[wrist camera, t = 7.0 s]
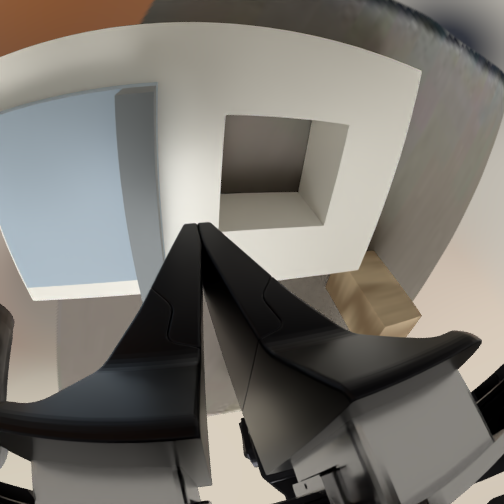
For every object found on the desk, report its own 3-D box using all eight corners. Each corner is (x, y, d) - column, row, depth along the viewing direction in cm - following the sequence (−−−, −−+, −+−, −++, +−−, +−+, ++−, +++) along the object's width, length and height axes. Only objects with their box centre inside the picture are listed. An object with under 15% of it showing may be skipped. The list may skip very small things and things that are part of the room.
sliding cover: (166, 261, 15) (168, 301, 13) (33, 272, 13) (20, 310, 11) (157, 82, 9) (153, 91, 7) (-13, 116, 7) (-47, 137, 5)
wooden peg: (359, 281, 28) (399, 345, 22) (325, 287, 27) (363, 357, 21) (373, 250, 26) (421, 315, 20) (337, 254, 25) (385, 327, 19)
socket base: (334, 236, 23) (358, 270, 20) (47, 259, 17) (33, 300, 14) (378, 59, 14) (421, 71, 11) (6, 61, 9) (-33, 71, 6)
